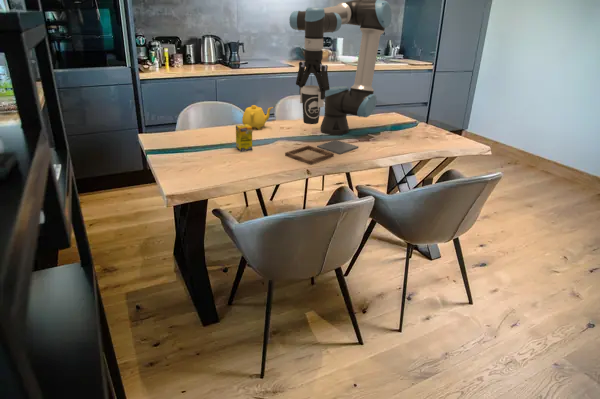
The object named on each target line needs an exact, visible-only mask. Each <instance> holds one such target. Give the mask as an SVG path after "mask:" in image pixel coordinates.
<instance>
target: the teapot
mask: <svg viewBox="0 0 600 399" xmlns="http://www.w3.org/2000/svg"><path fill="white" fill-rule="evenodd" d="M273 108H274V107H273V106H272V107H267V111H266V112H267V113H266V114H265V112H264V111H263V108H262V107H260V106H257V105H255V104H252V105H251V106H249V107H248V106H247V107H246V108H245V110H244V112H243V115H242V119H241V122H242V125H246V124H248V125H249V126H251V127H252V128H256V130H262V127H264V126H265V124H266V123H267V121H268V120H269V118H270V113H271V110H272V109H273Z"/></svg>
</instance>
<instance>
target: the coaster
mask: <svg viewBox="0 0 600 399" xmlns="http://www.w3.org/2000/svg"><path fill="white" fill-rule="evenodd" d="M359 147H360V146H359V145H355V144H351V143H348V142H344V141H340V140H338V139H334V140H330V141H328V142H324V143H322V144H319V145H316V148H318V149H321V150H325V151H328V152H331V153H334V154H337V155H343V154H345V153H349V152H351V151H354V150H356V149H359Z"/></svg>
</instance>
